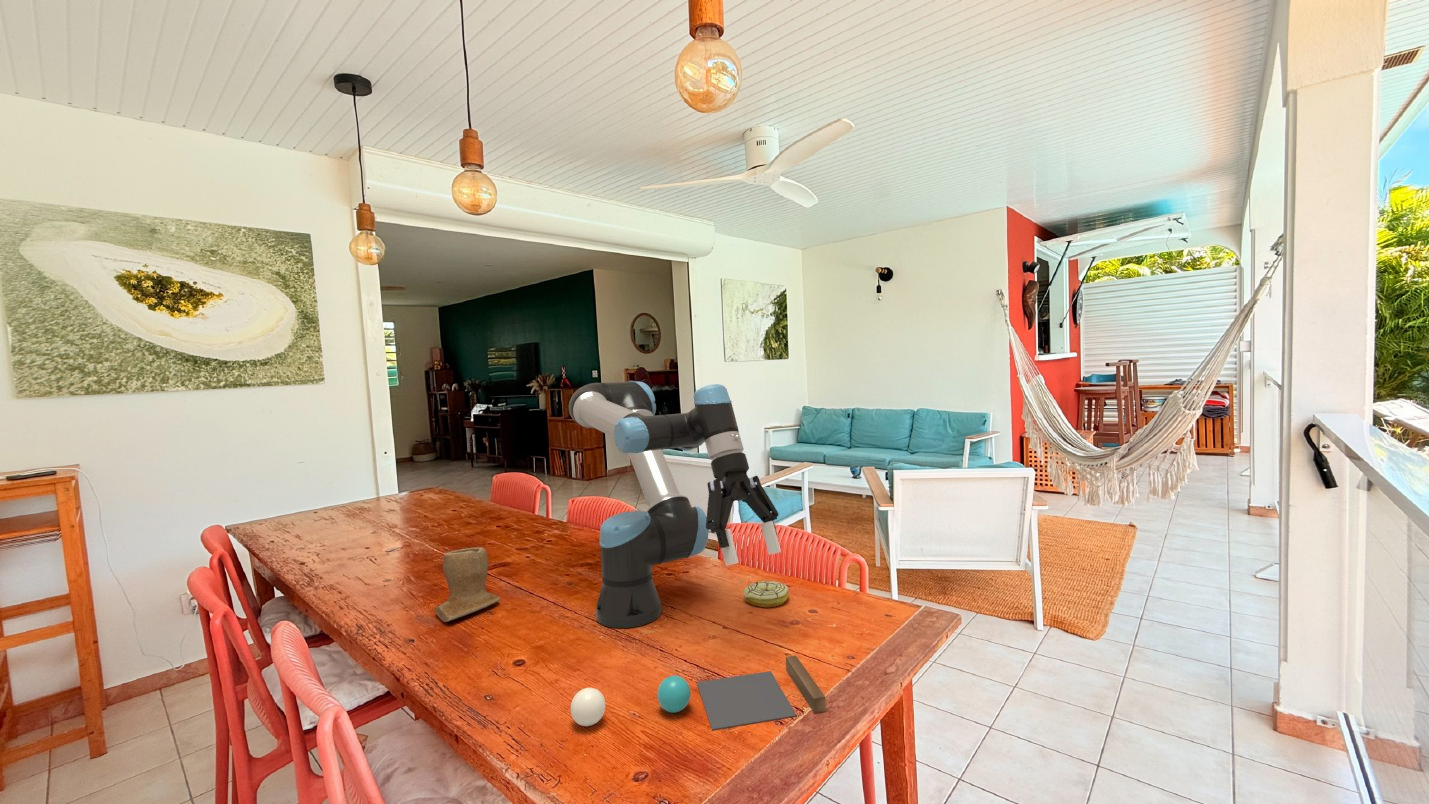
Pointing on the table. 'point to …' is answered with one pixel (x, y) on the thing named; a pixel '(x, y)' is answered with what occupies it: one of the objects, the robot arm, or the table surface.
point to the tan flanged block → (465, 583)
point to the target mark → (744, 700)
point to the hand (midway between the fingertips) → (754, 559)
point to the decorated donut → (766, 594)
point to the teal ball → (673, 694)
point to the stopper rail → (806, 684)
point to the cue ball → (587, 706)
